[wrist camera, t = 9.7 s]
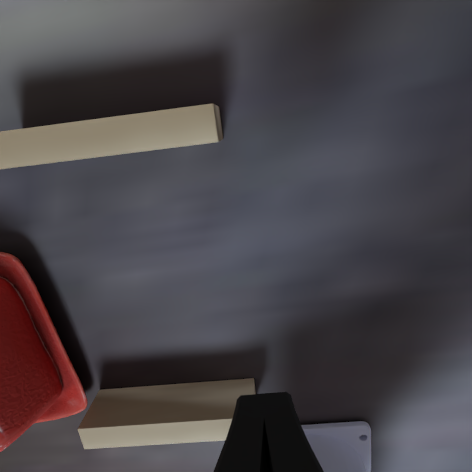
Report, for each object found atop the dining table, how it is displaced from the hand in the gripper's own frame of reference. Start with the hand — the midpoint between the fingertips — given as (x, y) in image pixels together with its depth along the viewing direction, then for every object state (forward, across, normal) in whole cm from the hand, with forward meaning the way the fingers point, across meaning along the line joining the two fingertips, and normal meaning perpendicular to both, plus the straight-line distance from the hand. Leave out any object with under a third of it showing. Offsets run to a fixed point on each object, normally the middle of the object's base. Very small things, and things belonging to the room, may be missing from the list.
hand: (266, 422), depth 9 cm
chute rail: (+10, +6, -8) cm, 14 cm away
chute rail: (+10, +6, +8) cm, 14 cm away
